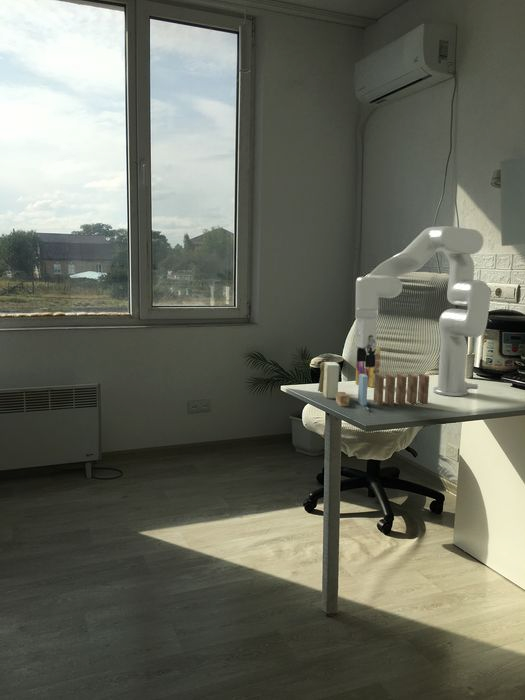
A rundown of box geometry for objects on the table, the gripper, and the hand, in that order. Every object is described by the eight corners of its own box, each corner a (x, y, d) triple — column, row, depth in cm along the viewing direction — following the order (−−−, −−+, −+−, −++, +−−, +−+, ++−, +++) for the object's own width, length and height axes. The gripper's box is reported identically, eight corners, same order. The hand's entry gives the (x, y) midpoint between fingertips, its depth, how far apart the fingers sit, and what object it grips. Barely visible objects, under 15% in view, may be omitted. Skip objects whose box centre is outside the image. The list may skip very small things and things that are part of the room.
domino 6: (421, 401, 207) (423, 373, 206) (427, 404, 203) (429, 376, 201) (417, 401, 207) (419, 373, 206) (423, 404, 202) (424, 376, 201)
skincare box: (322, 394, 215) (323, 361, 213) (334, 394, 215) (335, 361, 214) (325, 398, 209) (327, 364, 207) (338, 398, 209) (339, 364, 207)
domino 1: (362, 402, 205) (363, 373, 203) (366, 405, 200) (367, 376, 198) (357, 402, 204) (359, 373, 203) (361, 405, 199) (363, 376, 198)
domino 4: (399, 401, 206) (401, 373, 205) (405, 405, 201) (406, 376, 200) (395, 401, 206) (397, 373, 205) (400, 405, 201) (402, 376, 200)
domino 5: (410, 401, 207) (412, 373, 205) (416, 404, 202) (418, 376, 201) (406, 401, 207) (408, 373, 205) (411, 405, 202) (413, 376, 200)
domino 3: (388, 401, 206) (390, 373, 204) (393, 405, 201) (395, 376, 199) (384, 401, 206) (385, 373, 204) (389, 405, 201) (390, 376, 199)
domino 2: (377, 401, 205) (379, 373, 204) (382, 405, 200) (384, 376, 199) (373, 401, 205) (374, 373, 204) (378, 405, 200) (379, 376, 199)
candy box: (379, 386, 231) (381, 347, 229) (372, 387, 228) (374, 348, 226) (362, 382, 238) (363, 345, 236) (354, 383, 235) (356, 345, 233)
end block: (344, 401, 204) (344, 392, 204) (349, 406, 198) (349, 396, 198) (335, 402, 204) (336, 392, 203) (340, 406, 198) (340, 396, 197)
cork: (337, 391, 221) (338, 362, 220) (327, 393, 217) (328, 364, 215) (324, 388, 225) (325, 360, 224) (314, 390, 221) (315, 361, 219)
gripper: (348, 311, 205) (348, 359, 208) (363, 316, 189) (362, 369, 191) (369, 310, 206) (368, 359, 209) (386, 316, 189) (384, 368, 192)
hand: (365, 363), depth 200 cm, fingers open, 9 cm apart
